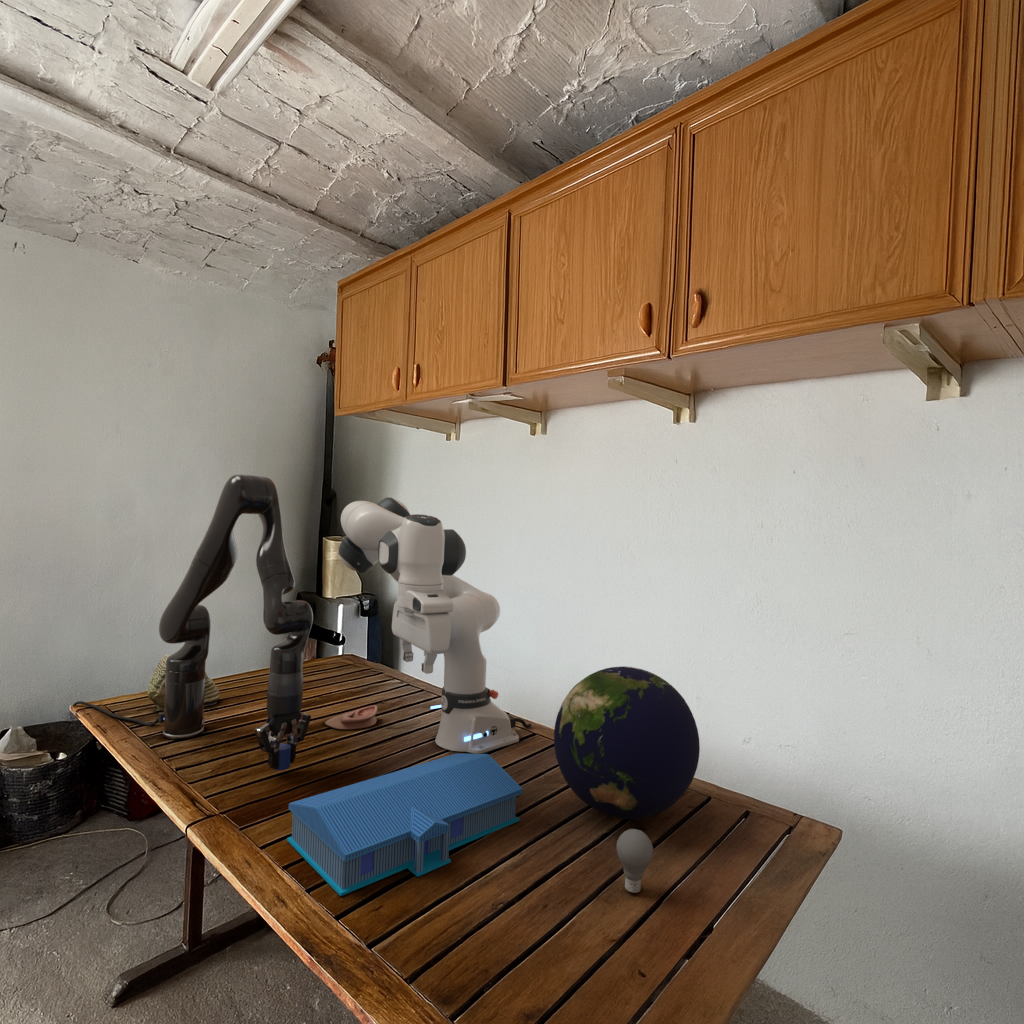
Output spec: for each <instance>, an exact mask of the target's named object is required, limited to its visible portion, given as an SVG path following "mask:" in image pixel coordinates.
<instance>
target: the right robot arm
mask: <svg viewBox="0 0 1024 1024" xmlns="http://www.w3.org/2000/svg"><path fill="white" fill-rule="evenodd" d="M340 524H341V528H342V530H343V532H344V534H345V536H344V538H341V539H340V541H341V542H340V544H339V547H338V555H339V557H340V560H341V562H342V563H343V564H344V566H346V567H347V568H348V569H349V570H351V571H354V572H356V573H357V572H358V573H360V574H366V573H367V572H369V571H370V570H372V569H373V568H374V567H375V565H376V564H377V563H378V565H379V566H380V567H381V568H382V570H383V571H384V572H385V573H387V574H388V575H390V576H391V577H392V578H393V579H394V580H395V582H397V598H396V599H397V600H395V602H394V604H393V609H392V618H391V619H392V620H391V633H392V634H393V635H394V636H396V637H397V638H399V639H400V641H399V643H400V648H401V652H402V660H403V661H404V662H406V663H411V662H413V661H414V652H413V647H412V646H414V647H416V648H418V649H420V650H422V651H423V656H424V659H423V662H421V672H422V673H424V674H426V675H427V674H428V675H429V674H432V673H433V672H434V664H435V661H436V659H437V657H438V655H441V654H443V661H444V662H443V663H444V664H443V666H444V667H443V669H444V670H443V687H442V688H441V700H440V704H439V705H432V706H430V710H434V709H440V708H441V714H440V721H439V726H438V730H437V733H436V737H435V740H434V742H435V744H436V745H437V746H439V747H440V748H442V749H445V750H448V751H453V752H461V753H462V752H463V753H468V754H486V753H488V752H491V751H494V750H497V749H500V748H503V747H507V746H510V745H512V744H516V743H519V741H520V735H519V733H517V732H516V730H514V729H515V728H516V727H517V723H520V724H521V725H522V726H523V727H524V728H525V729H529V728H532V723H526V721H525V720H524V719H522V718H520V717H514V716H512V715H510V714H509V713H506V712H505V711H504V710H503V709H502V708H500V707H499V706H498V705H497V704H496V703H494V702H493V701H492V700H491V698H492V699H493V700H496V699H498V697H499V692H498V691H497V690H495V689H490V688H489V687H487V686H486V685H487V684H486V683H487V664H488V663H487V662H488V661H487V658H486V656H485V655H484V654H483V651H482V646H481V642H480V636H481V633H483V632H487V631H488V630H490V629H491V628H492V627H493V626H494V625H495V624H496V622H497V621H498V619H500V615H501V606H500V603H499V602H498V600H497V598H496V597H495V596H493V595H492V594H491V593H488V592H484V591H483V590H480V589H478V588H477V587H475V586H473V585H472V584H471V583H468V582H467V581H465V580H463V579H461V578H460V577H457V576H456V575H454V574H456V573H457V572H458V571H459V570H460V569H461V568H462V566H463V565H464V563H465V560H466V558H467V548H466V544H465V542H464V539H463V538H462V536H461V535H460V534H459V533H458V532H457V531H456V530H454V529H451V528H450V529H449V528H448V529H447V528H446V529H444V527H443V523H442V521H441V520H440V519H439V518H438V517H436V516H432V515H427V514H411V513H410V510H409V509H408V507H407V506H406V505H405V504H404V503H403V502H401V500H398V499H395V498H393V497H389V496H388V497H385V498H382V499H381V500H379V501H378V502H377V503H375V502H372V501H369V500H368V501H367V500H355V501H352V502H350V503H348V504H347V505H346V506H345V507H344V508H343V510H342V512H341V514H340Z"/></svg>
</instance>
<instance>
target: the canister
mask: <svg viewBox="0 0 1024 1024" xmlns="http://www.w3.org/2000/svg"><path fill="white" fill-rule="evenodd" d="M278 752H279V761H278V768H277V769H275V771H285V770H288V769H290V767H291V763H290V758H291V745H289V744H288V743H280V747H279V751H278Z"/></svg>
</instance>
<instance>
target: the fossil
mask: <svg viewBox="0 0 1024 1024" xmlns="http://www.w3.org/2000/svg"><path fill="white" fill-rule="evenodd" d="M170 655H171V654H165V655H164V656H163V657H162V658H161V659H160V660H159V662H158V663H157V666H156V667H155V669H154V670H153V672H152V675H151V677H150V680H149V684H148V688H147V697H148V699H149V700H150V701H152V703H153V704H154V706H155V711H158V712H159V711H160V712H163V711H164V705H165V674H166V660H167V658H168V657H169V656H170ZM220 698H221V696H220V690H219V688H218V686H217V685H216V683H215V682H214V681H213V679H212V678H211V677H209V675H208V674H207V672H206V671H205V693H204V707H207V706H213V705H215V704H217V703H218V701H219V699H220Z"/></svg>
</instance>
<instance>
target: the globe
mask: <svg viewBox="0 0 1024 1024" xmlns="http://www.w3.org/2000/svg"><path fill="white" fill-rule="evenodd" d="M699 735H700V734H699V729H698V726H697V722H696V720H695V717H694V714H693V713H692V710H691V708H690V706H689V704H688V703H687V702H686V700H685V698H684V697H683V696H682V694H681V693H680V692H679V691H678V690H677V688H675V687H674V686H673V685H672V684H670V682H668V681H667V680H665V679H664V678H663V677H661V676H659V675H657V674H656V673H653V672H651V671H648V670H645V669H643V668H639V667H634V666H627V665H625V666H612V667H611V666H610V667H606V668H603V669H600V670H597V671H595V672H593V673H590V674H588V675H587V676H586V677H584V678H583V679H581V680H580V681H579V682H577V683H576V684H575V685H574V686H573V687H572V688H571V689H570V690H569V692H568V693H567V694H566V696H565V698H564V699H563V701H562V703H561V705H560V707H559V710H558V712H557V715H556V718H555V723H554V730H553V746H554V754H555V759H556V762H557V765H558V768H559V770H560V772H561V775H562V776H563V779H564V780H565V782H566V784H567V785H568V787H569V788H570V789H571V791H572V792H573V794H575V795H576V796H577V798H579V800H581V801H582V802H583V803H585V804H586V805H587V806H588V807H591V809H593V810H595V811H596V812H598V813H601V814H603V815H606V816H608V817H612V818H616V819H621V820H641V819H646V818H651V817H653V816H656V815H658V814H661V813H663V812H664V811H666V810H668V809H669V808H671V807H672V806H674V805H675V803H677V802H678V801H679V800H680V799H681V798H682V797H683V796H684V794H685V793H686V792H687V790H688V789H689V787H690V786H691V784H692V782H693V781H694V778H695V775H696V772H697V769H698V766H699V760H700V736H699Z"/></svg>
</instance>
